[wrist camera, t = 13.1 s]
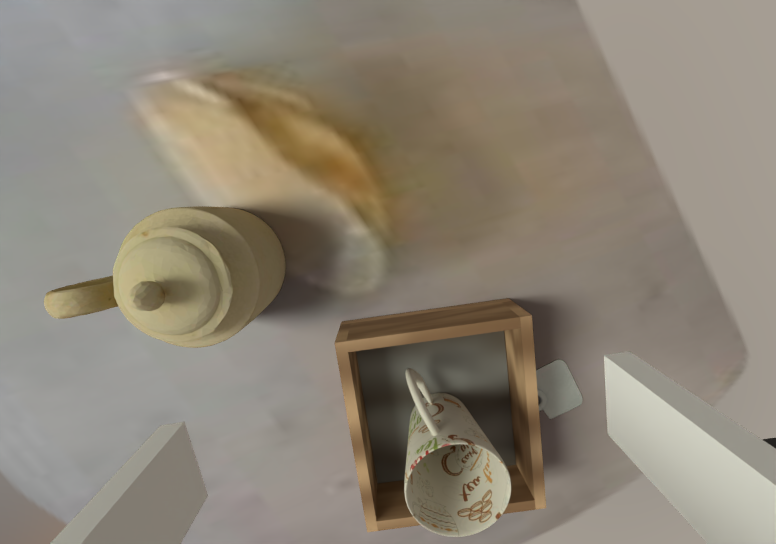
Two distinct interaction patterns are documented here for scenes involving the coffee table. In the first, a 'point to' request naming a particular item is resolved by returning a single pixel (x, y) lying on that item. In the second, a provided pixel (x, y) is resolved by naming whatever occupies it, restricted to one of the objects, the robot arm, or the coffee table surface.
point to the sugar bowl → (186, 276)
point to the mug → (451, 466)
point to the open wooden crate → (441, 375)
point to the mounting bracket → (557, 389)
